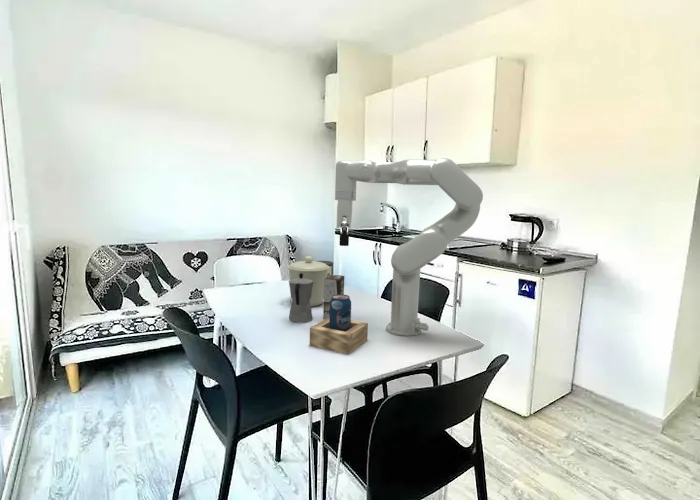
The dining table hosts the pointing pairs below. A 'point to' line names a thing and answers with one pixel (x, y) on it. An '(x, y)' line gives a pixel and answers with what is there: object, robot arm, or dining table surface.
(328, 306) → the coffee box
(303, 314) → the coffeepot
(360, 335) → the square wooden tray
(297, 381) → the dining table surface
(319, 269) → the canister
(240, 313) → the dining table surface
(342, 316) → the soda can
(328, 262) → the coffee can
